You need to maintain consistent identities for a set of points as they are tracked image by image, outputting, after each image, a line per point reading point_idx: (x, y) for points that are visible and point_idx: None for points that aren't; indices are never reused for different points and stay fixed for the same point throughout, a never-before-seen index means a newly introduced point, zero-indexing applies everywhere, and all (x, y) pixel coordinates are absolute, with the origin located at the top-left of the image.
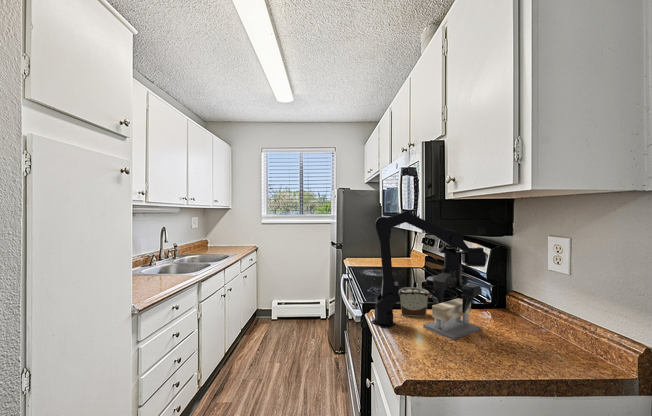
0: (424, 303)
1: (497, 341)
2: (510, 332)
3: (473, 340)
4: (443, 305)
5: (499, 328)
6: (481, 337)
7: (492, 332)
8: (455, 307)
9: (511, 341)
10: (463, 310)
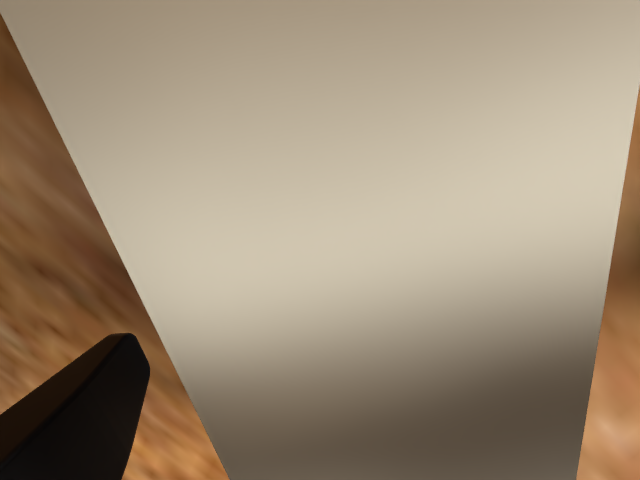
0: None
1: (11, 298)
2: (147, 471)
3: (45, 129)
4: (369, 101)
5: (222, 473)
6: (102, 254)
7: (175, 395)
8: (178, 334)
9: (7, 373)
10: (71, 367)
